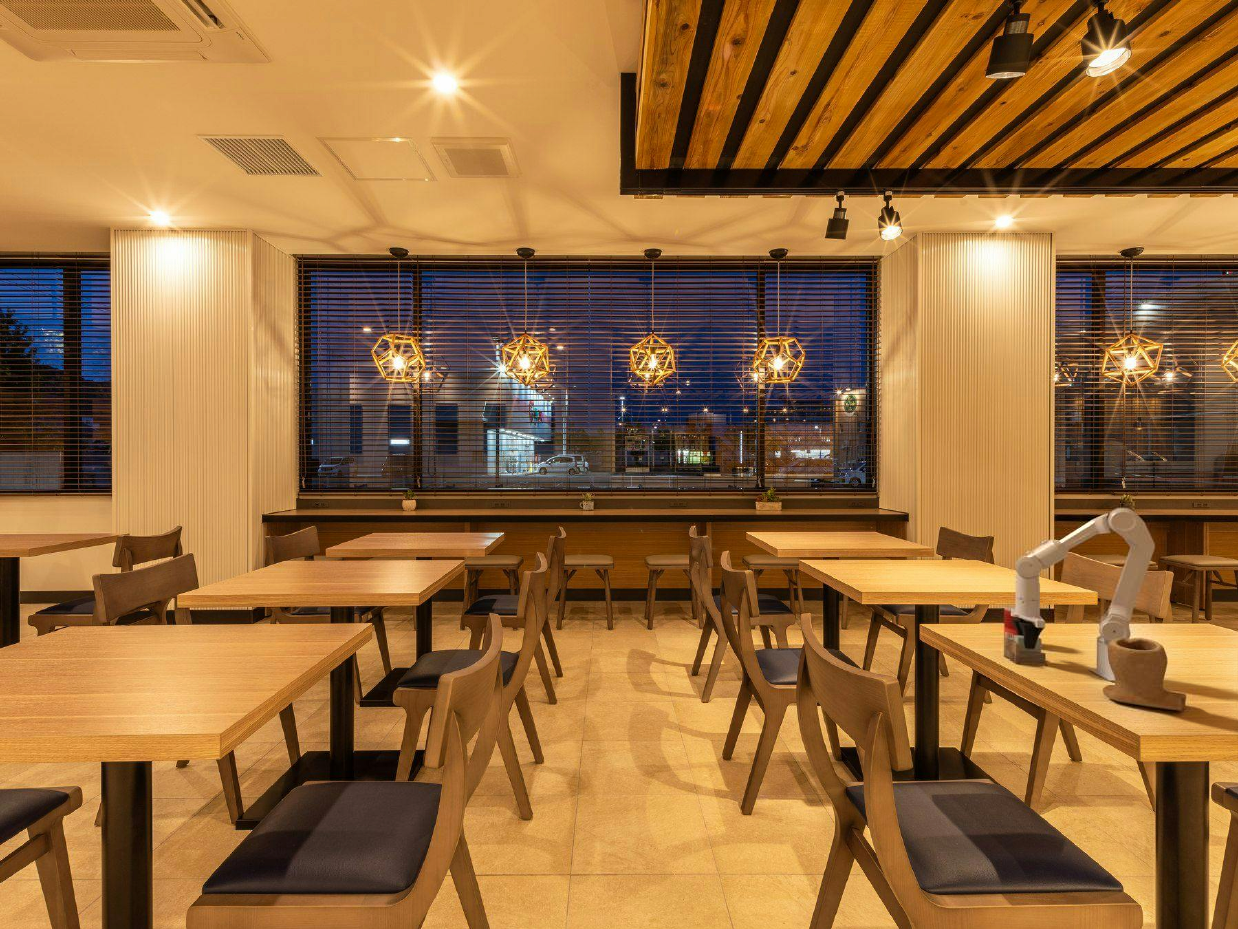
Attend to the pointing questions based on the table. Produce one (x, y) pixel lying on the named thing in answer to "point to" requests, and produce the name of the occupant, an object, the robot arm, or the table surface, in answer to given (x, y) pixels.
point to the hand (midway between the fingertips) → (1027, 647)
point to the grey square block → (1022, 646)
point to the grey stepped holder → (1022, 654)
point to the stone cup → (1140, 674)
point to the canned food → (1009, 623)
